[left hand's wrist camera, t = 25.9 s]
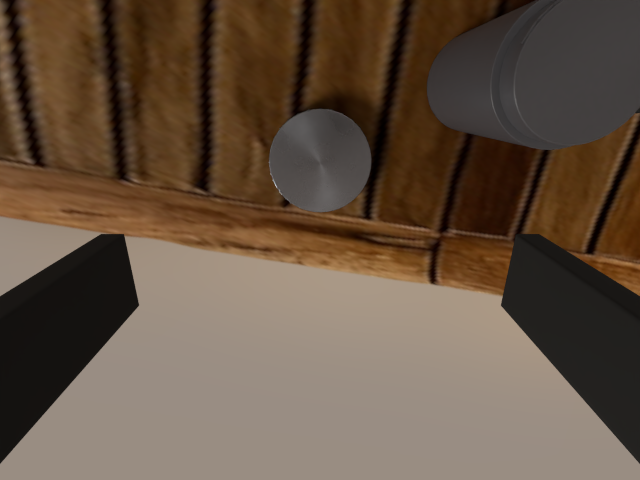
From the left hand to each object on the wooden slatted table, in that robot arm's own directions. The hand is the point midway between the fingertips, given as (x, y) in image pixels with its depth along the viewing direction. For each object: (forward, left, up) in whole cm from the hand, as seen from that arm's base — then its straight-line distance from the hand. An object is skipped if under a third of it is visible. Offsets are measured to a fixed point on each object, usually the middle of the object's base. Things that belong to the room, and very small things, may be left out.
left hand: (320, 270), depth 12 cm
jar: (-8, +14, -26) cm, 30 cm away
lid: (0, 0, -24) cm, 24 cm away
